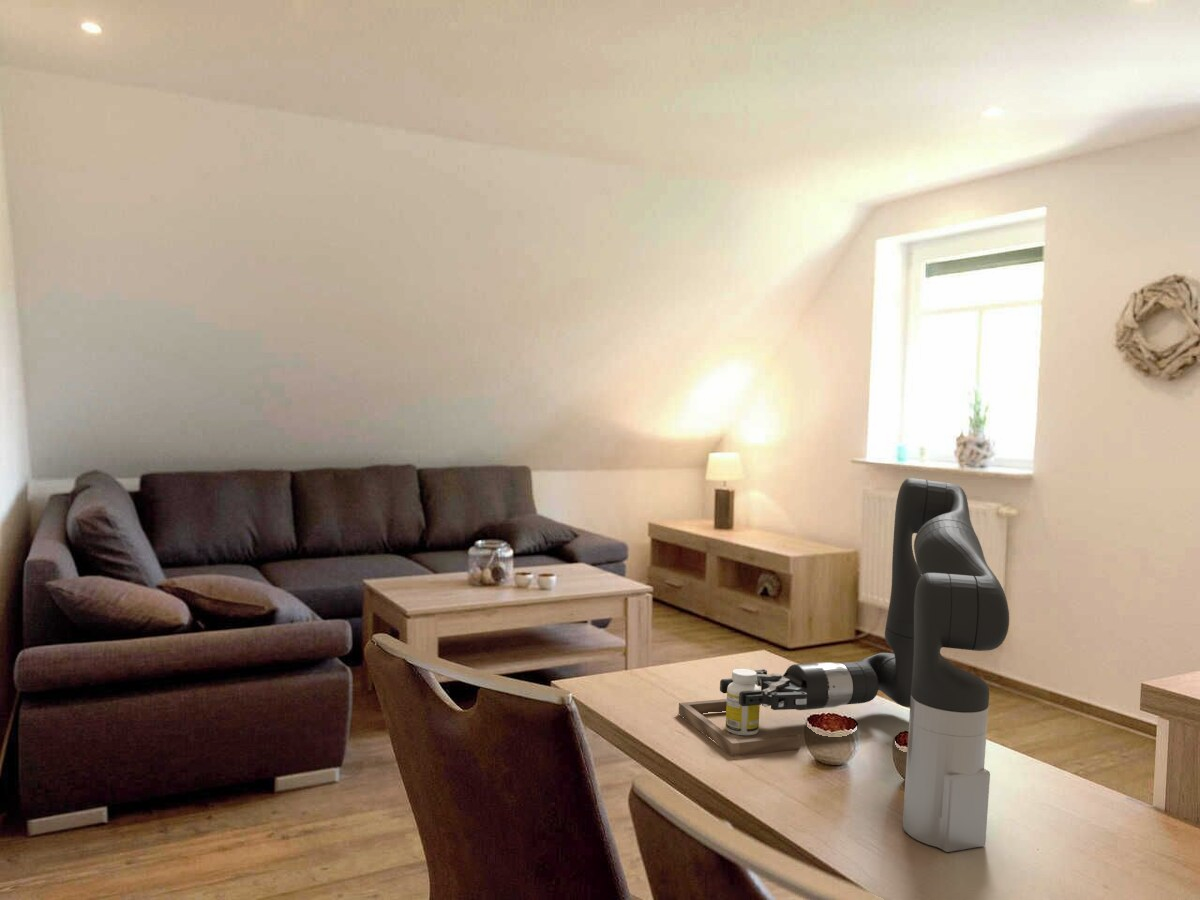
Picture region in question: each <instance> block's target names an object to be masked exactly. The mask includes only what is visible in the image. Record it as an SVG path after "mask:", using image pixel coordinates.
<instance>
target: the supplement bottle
mask: <svg viewBox="0 0 1200 900" xmlns="http://www.w3.org/2000/svg"><path fill="white" fill-rule="evenodd" d="M731 678H732V680H733V682H732V683H730V684H729V685H728V687H727V693H726V699H727V705H726V713H725V730H726V731H727V732H729V733H730V732H731V733H730V734H733V735H737V736H753V735H756V734H758V732H759V730H760V729H759V727H760V710H761V709H760V706H761V705H752V706H742V705H740V704H739V694H740V692H742V691H753V690H761V687H760V686H757V685H756V684H755V682H756V680H757V673H756V672H755V671H754V669H750V668H749V669H748V668H735V669H733V670H732V672H731Z"/></svg>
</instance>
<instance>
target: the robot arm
mask: <svg viewBox="0 0 1200 900" xmlns="http://www.w3.org/2000/svg"><path fill="white" fill-rule="evenodd" d="M967 497H968V496H967V495H966V492H965V491H964V489H963V487H961V486H959V485H957V484H954V483H952V482H944V481H938V480H937V481H936V480H929V479H924V478H916V477H915V478H914V477H909V478H906V479H904V481H903V482H902V483H901V486H900V488H899V491H898V494H897V499H896V504H895V510H894V511H895V512H894V526H893V541H892V543H893V544H892V557H891V558H892V562H891V586H890V587H891V589H890V599H889V604H888V605H889V606H888V611H887V616H886V623H885V629H884V639H885V642H886V644H887V645H888V646H889V647H890V649H891V650H892V652H879V653H875V654H873V655H870V656H867V657H865V658H862V659H860V660H858V661H845V662H833V661H832V662H829V661H827V662H823V661H822V662H812V663H797V664H791V665H790V666H788V668H787V669H786V671H785V672H784V674H783V675H782V674H780V673H770V674H768V670H766V669H764V668H763V669H756V670H755V669H753V671H755V672H756V673H757V680H756V682H755V684H756V685H757V686H758V687H760V690H753V691H742V692H740V694H739V704H740V705H742V706H752V705H760V706H762V707H764V708H767V707H770V710H773V711H785V710H796V711H809V710H818V709H820V710H821V709H829V708H836V707H840V706H846V705H856V704H864V703H868V702H870V701H873V700H874V699H875V698H876V697H877V694H878V692H879V691H880V692H881V693H883V694H884V695H885V696H887V697H888V698H889V699H891V700H892V701H894V702H895V703H896V704H897V705H898V706H899V705H900V706H902V707H906V708H909V718H908V734H907V735H908V736H907V746H906V747H907V748H906V749H907V750H906V762H905V763H906V767H905V768H906V769H905V781H904V798H903V813H902V814H903V815H902V817H903V818H902V829H903V830H904V832H905V833H907V834H908V836H910V837H911V838H913V839H915V840H916V841H918V842H921V843H923V844H926V845H928V846H932V847H935V848H939V849H941V850H943V852H945V853H949V852H955V851H962V850H968V849H973V848H980V847H985V846H986V841H987V840H986V838H987V824H988V813H989V812H988V811H989V809H988V808H989V795H990V794H989V793H990V781H991V773H990V771H989V770H988V769H986V768H985V763H986V762H985V759H986V746H987V734H988V733H987V732H988V720H989V717H988V716H989V705H990V686H989V685H988V684H987V682H986V681H985V680H983V679H982V678H981V677H979V676H978V675H976V674H973V673H971V672H969V671H967V670H964V669H962V668H960V667H958V666H956V665H955V664H953V663H952V662H950V661H949V660H947V659H946V658H945V657H944V656H943V655H942V654H941V649H942V648H946V649H957V650H967V651H976V652H978V651H979V652H981V651H983V652H985V651H986V652H987V651H992V650H995V649H998V648H999V647H1000V646H1001V645H1002V644H1003V643H1004V641H1005V640H1006V637H1007V635H1008V632H1009V628H1010V611H1009V610H1010V609H1009V606H1008V601H1007V596H1006V594H1005V591H1004V588H1003V586H1002V584H1001V582H1000V581H999V579H998V578H997V576H996V575H995V574H994V573H993V571H992V570H991V568H990V567H989V565H988V563H987V561H986V558H985V555H984V551H983V548H982V546H981V543H980V540H979V538H978V536H977V534H976V531H975V529H974V526H973V523H972V520H971V517H970V516H971V515H970V509H969V501H968V498H967ZM913 534H916V535H915V538H914V541H913V536H914V535H913ZM732 682H733V680H732V677H731V678H722V679H721V680H720V682H719V691H720V693H722V694H727V687H728V685H729V684H730V683H732Z"/></svg>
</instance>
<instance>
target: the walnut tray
mask: <svg viewBox="0 0 1200 900" xmlns="http://www.w3.org/2000/svg"><path fill="white" fill-rule="evenodd" d="M726 705H727V698H721V699H713V700H712V699H710V700H699V701H698V700H697V701H688V702H687V701H686V702H678V715H679V714H680V715H681V716H682V717H684V718H683V719H684V720H685V719H686V720H687V721H686V720H685V721H686V722H687V723H689V724H690V723H691V724H692V725H691V724H690V725H691V726H693V727H694V728H695V727H696V728H697V730H698V731H699V730H700V731H701V732H700V731H699V732H700V733H702V732H703V733H704V734H705V735H707V736H708V737H710V738H711V739H712V740H714V741H715V742H716V743H717V744H718V745H719V746H720V747H719V746H718V745H717V744H716V743H715V744H716V745H717V746H718V747H719V748H720V749H722V750H723V749H724V750H725V752H726V753H727V754H728V755H729V756H731V757H738V756H745V755H746V756H747V755H755V754H757V755H758V754H765V753H774V752H775V753H776V752H784V751H785V752H786V751H793V750H794V751H795V750H800V749H801V736H800V735H799V734H797V733H790V734H781V735H780V734H779V735H773V736H772V735H771V736H770V735H769V736H762V737H761V736H760V737H751V738H742V739H741V738H740V739H735V738H734V737H732V736H731V735H730V734H728V733H727V732H725V731H724V730H723V729H721V728H720V727H719V726H718V725H716V724H715V723H714V722H713V721H711V720H709V719H708V718H707V717H706V716H704V715H702V714H703V713H708V712H722V711H726ZM680 715H679V716H680ZM681 716H680V717H681ZM682 717H681V718H682ZM696 728H695V729H696ZM703 733H702V734H703ZM704 734H703V735H704ZM705 735H704V736H705ZM707 736H706V737H707ZM708 737H707V738H708ZM712 740H711V741H712ZM724 750H723V751H724Z"/></svg>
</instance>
